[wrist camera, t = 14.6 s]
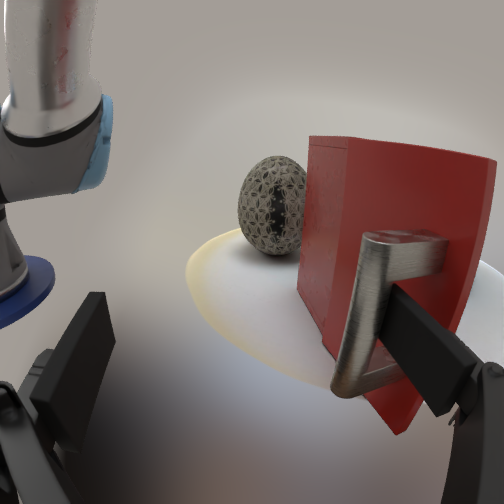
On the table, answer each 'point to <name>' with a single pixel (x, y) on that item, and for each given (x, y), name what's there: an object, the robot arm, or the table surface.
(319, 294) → the red cabinet body
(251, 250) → the table surface
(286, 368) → the table surface
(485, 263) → the table surface
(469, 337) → the table surface
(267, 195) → the decorative egg
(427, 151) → the cabinet door
